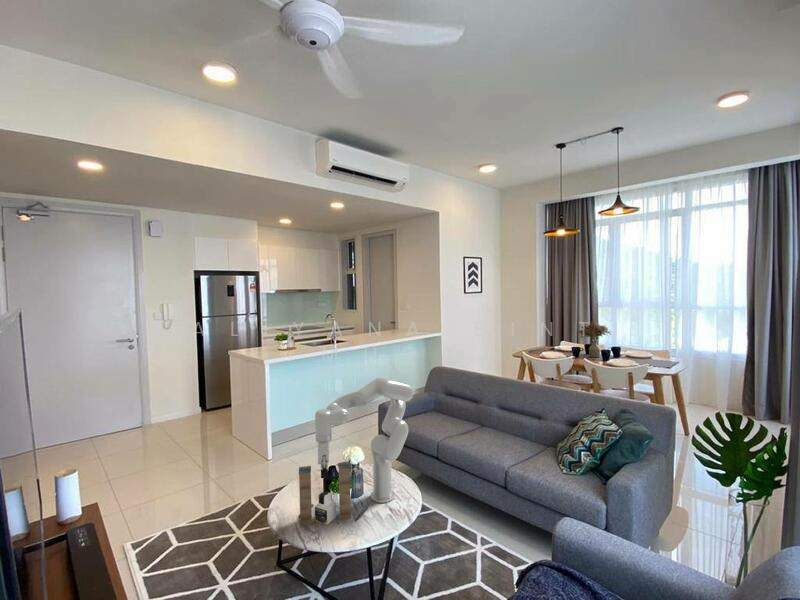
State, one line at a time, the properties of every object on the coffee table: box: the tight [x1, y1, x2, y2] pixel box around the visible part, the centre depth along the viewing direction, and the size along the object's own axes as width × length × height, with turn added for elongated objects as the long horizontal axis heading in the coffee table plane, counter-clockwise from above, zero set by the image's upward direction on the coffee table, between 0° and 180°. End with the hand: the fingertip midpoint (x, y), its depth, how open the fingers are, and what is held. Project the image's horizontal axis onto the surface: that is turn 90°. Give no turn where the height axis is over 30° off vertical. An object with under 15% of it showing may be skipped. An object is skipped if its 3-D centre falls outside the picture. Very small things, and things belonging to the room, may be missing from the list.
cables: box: [298, 503, 368, 521], centre depth 184 cm, size 11×31×1 cm, turn 85°
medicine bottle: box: [314, 491, 337, 526], centre depth 179 cm, size 7×7×12 cm
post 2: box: [337, 461, 352, 521], centre depth 181 cm, size 5×5×25 cm
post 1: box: [298, 465, 313, 526], centre depth 177 cm, size 5×5×25 cm
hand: (324, 472), depth 179 cm, fingers open, 9 cm apart
